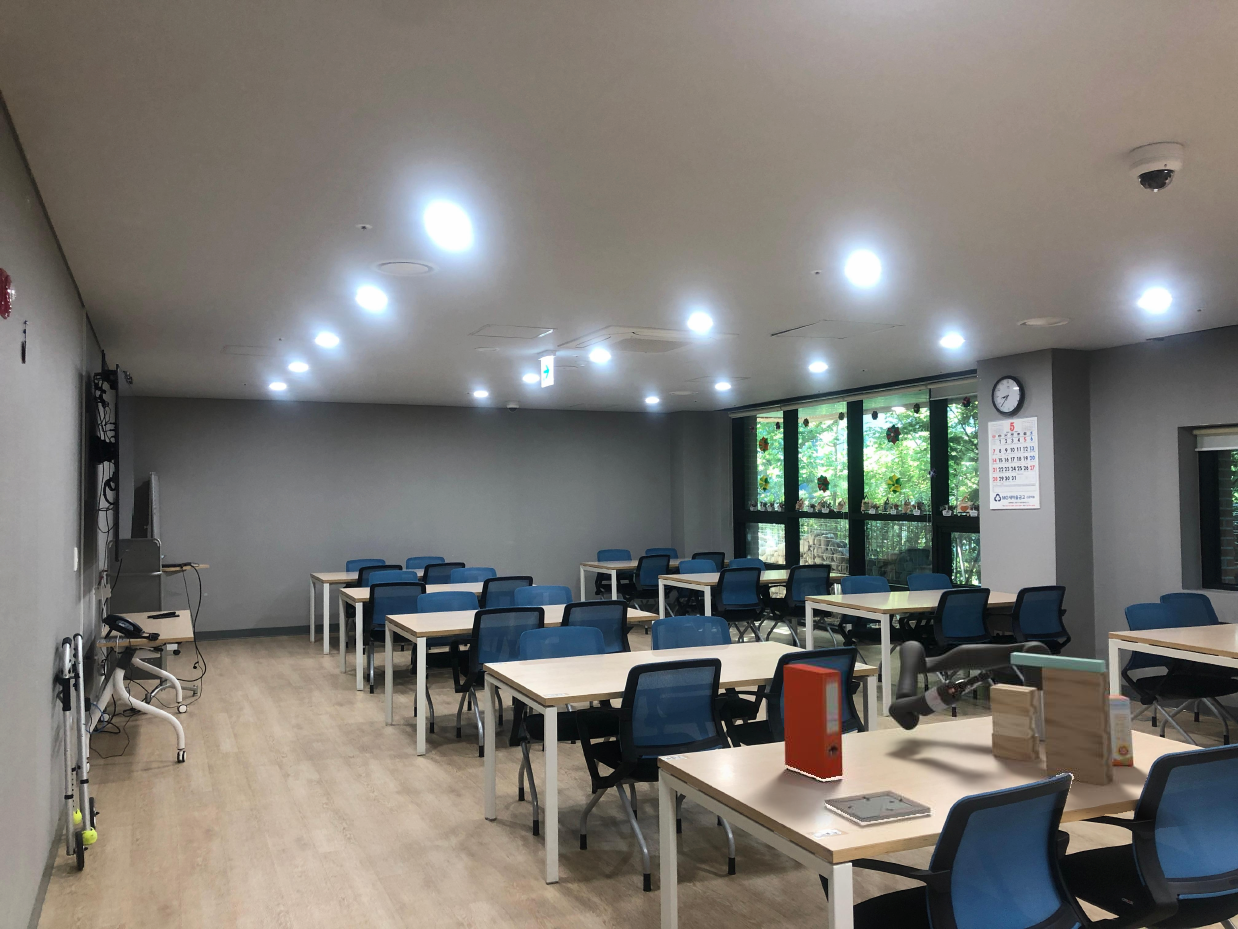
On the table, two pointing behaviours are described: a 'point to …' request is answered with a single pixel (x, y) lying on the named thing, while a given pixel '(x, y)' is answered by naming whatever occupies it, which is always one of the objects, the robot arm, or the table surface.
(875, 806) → the picture frame
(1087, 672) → the wooden moulding block
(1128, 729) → the cracker box
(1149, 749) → the table surface
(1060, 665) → the batten
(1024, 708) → the block
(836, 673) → the file binder
